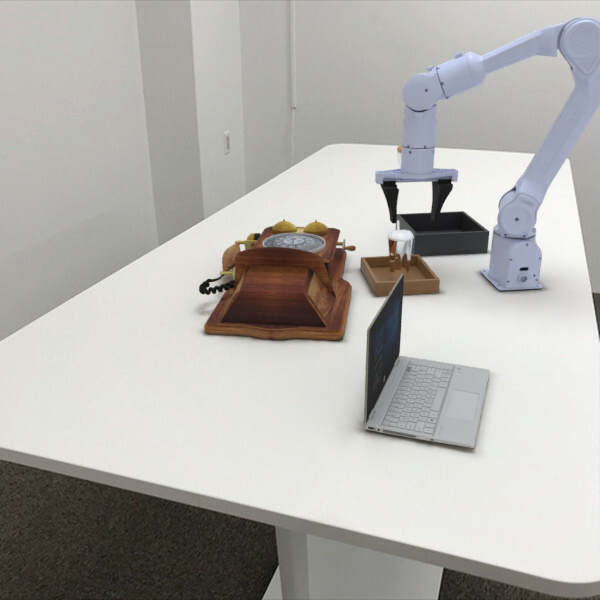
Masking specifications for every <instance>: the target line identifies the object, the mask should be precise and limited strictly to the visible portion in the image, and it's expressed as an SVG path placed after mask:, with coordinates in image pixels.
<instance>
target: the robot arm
mask: <svg viewBox="0 0 600 600" xmlns="http://www.w3.org/2000/svg"><path fill="white" fill-rule="evenodd" d="M558 51H559V52H560V54H561V56H562V57H563V58H564V61H566V62H567V64H568V65H569V67H570V68H569V69H570V72H571V76H572V79H573V82H574V88H573V89H572V91H571V93H570V94H569V96H568V98H567V99H566V101H565V103H564V104H563V106H562V108H561V109H560V111H559V113H558V115H557V116H556V118H555V120H554V122H553V123H552V125H551V126H550V127H549V130H548V132H547V133H546V135H545V137H544V138H543V140H542V141H541V142H540V143H541V144H540V145H539V147H538V149H537V150H536V152H535V153H534V154H533V157H532V158H531V160H530V162H529V163H528V165H527V167H526V169H525V170H524V171H523V173H522V175H520V177H519V178H518V179H517V180H516V182H515V184H514V185H513V187H511V189H509V190H508V191H505V192H504V193H503V194H502V196H501V197H500V198H499V201H498V213H497V218H496V221H497V222H496V223H497V224H495V225H494V226H493V228H492V229H493V230H492V237H491V246H490V256H489V265H488V268H485V269H484V268H483V269H482V268H481V269H480V271H479V273H480V274H482V276H483V277H484V278H485V279H487V280H488V281H489V283H491V284H492V285H493V286H494V287H495V288H496V289H497V290H498V291H501V292H502V291H518V290H536V289H543V287H544V286H543V284H541V283H540V282H539V281H540V274H541V267H542V260H543V253H542V250H541V247H540V246H539V245H538V244H537V240H536V239H537V238H536V237H537V228H536V227H535V226H536V224H537V221H538V220H537V218H538V212H539V210H540V207H541V206H542V204H543V202H544V201H545V197H546V194H547V191H548V190H549V188H550V186H551V185H552V183H553V181H554V180H555V178H556V176H557V175H558V173H559V171H560V170H561V168H562V167H563V165H564V164H565V162H566V161H567V159H568V157H569V155H570V154H571V152H572V150H573V149H574V147H575V146H576V144H577V143H578V141H579V139H580V138H581V136H582V135H583V133H584V131H585V130H586V128H587V126H588V125H589V123H590V121H591V120H592V119H593V117H594V115H595V114H596V112H597V110H598V109H599V107H600V21H599V20H598V19H596V18H593V17H586V16H585V17H581V16H579V17H574V18H572V19H570V20H568V21H567V22H561V23H556V24H553V25H549V26H546V27H542V28H539V29H536V30H534V31H531V32H530V33H527V34H525V35H523V36H521V37H519V38H517V39H514V40H512V41H511V42H508V43H506V44H503V45H502V46H499V47H497V48H495V49H493V50H490V51H489V52H487V53H485V54H483V55H480V54H477V53H475V52H473V51H467V52H466V53H464V52H463V51H461V50H460V51H458V52H457V53H455V54H454V58H452V59H450V60H447V61H445V62H443V63H440V64H438V65H436V66H434V64H431V65H429V66H427V67H426V71H427V72H420V73H416V74H414V75H413V76H412V77H410V78H409V79H408V80H407V81H406V82H405V84H404V86H403V88H402V99H403V102H404V104H405V105H404V109H403V114H404V118H403V119H402V136H401V137H402V138H401V146H402V154H401V168H395V169H387V170H375V175H374V176H375V178H374V182H375V184H376V185H380V188H381V190H382V193H383V195H384V198H385V201H386V205H387V208H388V213H389V221H390V222H391V223H392V224H396V221H397V214H398V200H399V193H400V189H399V188H398V184H399V183H401V184H402V183H428V182H431V188H432V189H431V192H432V193H431V196H432V197H431V208H430V213H431V219H432V220H433V221H434V222H438V218H439V215H440V212H442V209H443V207H444V204H445V202H446V200H447V198H448V197H449V195H450V194H451V192H452V191H453V188H454V184H453V183H457V182H458V181H459V180H458V179H459V170H458V169H456V168H436V167H434V166H435V153H436V152H435V151H436V138H437V126H438V125H437V123H438V119H437V102H438V100H443V101H447V100H450V99H452V98H455V97H457V96H459V95H462V94H464V93H466V92H469V91H472V90H473V89H476V88H479V87H481V86H482V85H483V84H484V81H485V79H486V77H487V75H489V74H491V73H493V72H496V71H499V70H501V69H504V68H507V67H509V66H512V65H514V64H517V63H520V62H522V61H524V60H527V59H530V58H533V57H535V56H541V57H542V56H543V57H552V58H557V56H558Z"/></svg>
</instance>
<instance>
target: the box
mask: <svg viewBox="0 0 600 600" xmlns="http://www.w3.org/2000/svg"><path fill="white" fill-rule="evenodd" d="M359 268H360V271H361V273H362V275H363V277H364V278H365V280H366V282H367V285H368V286H369V288H370V289H371V291H372V293H373V295H374V297H388V295H389V293H390V292H391V290H392V289H393V287H394V285H395V284H396V282H397V281H392V280H390V278H389V255H381V256H380V255H379V256H376V255H375V256H361V257H360V267H359ZM440 284H441V279H440V278H439V276H438V275H437V274H436V273H435V272H434V270H433V269H432V268H431V267H430V265H428V263H426V261H425V260H424V259H423V258H422V256H420V255H419V254H418V255H412V254H411V258H410V265H409V273H408V279H407V280H404V284H403V296H408V295H410V296H411V295H425V294H439V293H440Z"/></svg>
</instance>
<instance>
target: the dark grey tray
mask: <svg viewBox="0 0 600 600" xmlns="http://www.w3.org/2000/svg"><path fill="white" fill-rule="evenodd" d="M397 221H399V225H400V230H410V231H411V232H412V233H413V235H414V239H413V245H412V251H411V255H418V254H419V255H420V257H428V256H429V257H431V256H432V257H433V256H449V255H450V256H451V255H469V254H470V255H471V254H473V255H474V254H487V253H488V249H489V241H490V230H488V229H487V228H486V227H485V226H483V225H482V224H481V223H479V222H478V221H477V220H476V219H474V218H473V217H472V216H470V215H469V214H468V213H467V212H466V211H464V210H461V211H457V210H456V211H441V212H440V215H439V218H438V222H434V221H433V220H432V219H431V212H415V213H414V212H411V213H410V212H409V213H397ZM397 221H396V223H395V230H397Z"/></svg>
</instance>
